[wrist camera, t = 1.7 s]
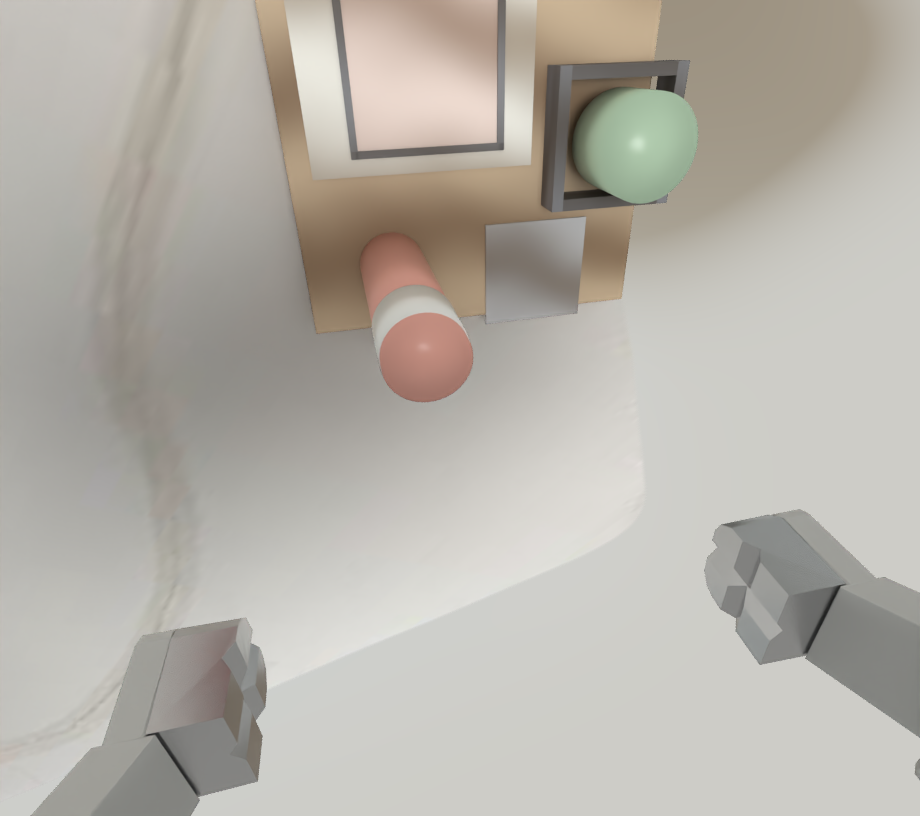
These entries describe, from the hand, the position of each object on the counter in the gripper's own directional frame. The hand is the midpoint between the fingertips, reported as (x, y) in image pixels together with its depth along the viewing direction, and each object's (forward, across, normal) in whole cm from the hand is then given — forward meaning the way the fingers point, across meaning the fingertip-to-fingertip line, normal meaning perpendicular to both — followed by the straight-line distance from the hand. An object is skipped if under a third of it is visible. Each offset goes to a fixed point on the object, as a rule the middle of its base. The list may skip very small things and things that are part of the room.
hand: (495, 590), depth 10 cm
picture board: (+21, -4, -6) cm, 22 cm away
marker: (+20, 0, +1) cm, 20 cm away
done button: (+19, -10, -4) cm, 22 cm away
